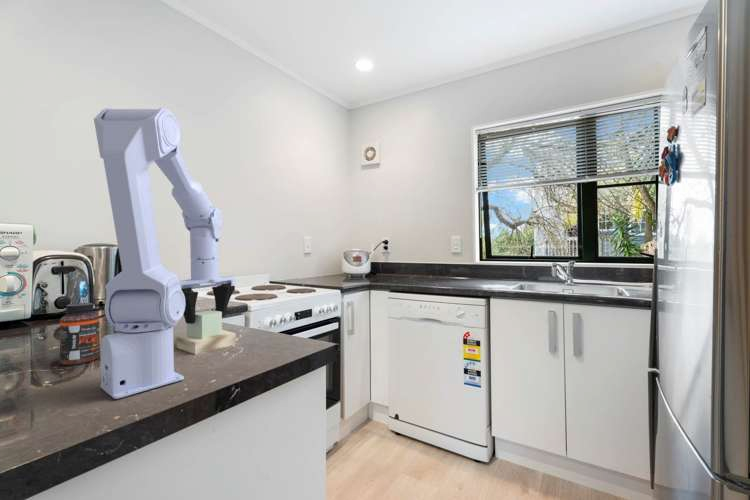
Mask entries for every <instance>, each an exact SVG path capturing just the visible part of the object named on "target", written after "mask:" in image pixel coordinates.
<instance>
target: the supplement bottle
mask: <svg viewBox="0 0 750 500" xmlns="http://www.w3.org/2000/svg"><path fill="white" fill-rule="evenodd" d="M93 309H94V304H93V302H77V303H70V304H66V313H65V314H64V315H63V316H62V317H61V318H60V320H59V363H60V364H61V365H65V366H75V365H82V364H86V363H90V362H93V361H96V360H97V359H99V357H100V354H101V350H100V349H101V346H100V316H99V314H98V313H96V312H95V311H94V310H93Z"/></svg>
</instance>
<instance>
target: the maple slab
mask: <svg viewBox="0 0 750 500" xmlns="http://www.w3.org/2000/svg"><path fill="white" fill-rule="evenodd" d="M234 344H236V345H237V333H236V332H232V331H228V330H226V329H222V334H218V335H215V336H211V337H207V338H204V339H200V338H194V337H188V336H187V333H185V334H180V335H176V348H177V349H180V350H182V351H185V352H188V353H190V354H193V355H200V354H203V353H206V352H211V351H215V350H219V348H220V349H222V348H223V347H224V348H228V347H231V346H230V345H232V346H235V345H234ZM227 346H228V347H227Z"/></svg>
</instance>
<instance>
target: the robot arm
mask: <svg viewBox="0 0 750 500" xmlns="http://www.w3.org/2000/svg"><path fill="white" fill-rule="evenodd" d="M93 122H94V129H95V134H96V139H97V141H96V142H97V145H98V151H99V157H100V159H103V165H104V171H105V177H106V183H107V190H108V194H109V195H108V196H109V201H110V206H111V212H112V219H113V223H114V230H115V235H116V236H115V237H116V242H117V248H118V254H119V259H120V265H121V272H119V273H118V274H116V276H114V277H113V278H112V279H111V280H110V281H109V282H108V283H107V284H106V285H105V286H104V287H105V291H106V292H105V293H106V296H105V302H104V303H105V304H104V313H105V314H104V315H105V317H106V320H107V321H108V323H109V324H110V325H112V326H114V331H115V333H110V334H106V335H104V336H103V337H102V338H101V340H100V341H101V342H100V384H99V387H100V388H101V389H102V390H103V391H104V392H105V393H107V394H108V395H109V396H110V397H112V398H113V399H115V400H119V399H122V398H126V397H129V396H132V395H136V394H138V393H142V392H145V391H150V390H152V389H155V388H160V387H164V386H165V385H166V386H167V385H169V384H173V383H176V382H180V381H183V380H184V379H185V376H184V375H181V374H180V373H178V372H176V371H175V360H174V359H175V358H174V357H175V356H174V355H175V354H174V353H175V351H174V350H175V349H174V326H176V325H178V322H179V321H180V320H181V319H182V317H183V318H184V321H185V324H187V323H189V324H193V323H195V312H196V307H197V306H196V305H197V299H198V295H199V292H198V291H194V289H204V288H205V289H206V288H211V289H212V293H213V296H214V301H215V302H214V304H215V311H221V312H222V318H224V317H226V312H227V308H228V305H229V302H230V300H231V297H232V295H233V293H234V291H236V286H235V284H236V276H220V253H219V252H220V251H219V250H220V247H219V246H220V245H219V243H220V242H219V241H220V240H219V239H221V237H222V228H223V224H224V219H223V213H222V210H221V209H220V208H218V207H217V206H215V205H213V204H212V202H211V201H210V198H209V197H208V195H207V193H206V191H205V190H204V188H203V186H202V183H200V182H199V181H198V180H196V179H192V177H191V174H190V172H189V169H188V167H187V165H186V162H185V160H184V158H183V156H182V153H181V151H180V147H181V130H180V129H181V128H180V125H179V122H178V120H177V118H176V116H175V115H174V114H173V113H172V111H170V110H169V109H168V108H165V107H163V108H162V107H161V108H160V107H159V108H112V107H106V108H104V109H102V110H101V111H100V112H99V113H98V114H97V115H96V116H95V117H93ZM153 163H154V164H156V166H157V167H158V168H159V169H160V171H161V172H162V174H163V175H164V176H165V177H166V178H167V180H168V181H169V182H170V184H171V185H172V186H173V187H172V188H171V194H172V195H171V196H172V197H173V198H174V200H175V202H176V203H177V204H178V206H179V208H180V209H181V210H182V212H181V214H182V217H183V221H184V226H185V229H187V231H189V240H190V241H189V242H190V243H189V245H190V251H189V253H190V255H189V256H190V279H189V278H188V279H184V280H179V277H178V275H177V274H175V273H173V272H171V271H170V270H168V269H167V268H165V267H164V266H163V265H162V259H161V252H160V251H161V250H160V245H159V238H158V230H157V223H156V218H155V217H156V216H155V210H154V202H153V196H152V190H151V188H152V187H151V182H150V181H151V180H150V176H149V168H151V165H152V164H153Z"/></svg>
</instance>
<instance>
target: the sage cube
mask: <svg viewBox="0 0 750 500" xmlns="http://www.w3.org/2000/svg"><path fill="white" fill-rule="evenodd" d="M222 330H223V317H222V312H221V311H216V310H210V309H205V310H199V311H195V323H193V324H189V323H186V334H187V336H188V337H194V338H200V339H204V338H207V337H211V336H215V335H218V334H222Z"/></svg>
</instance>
